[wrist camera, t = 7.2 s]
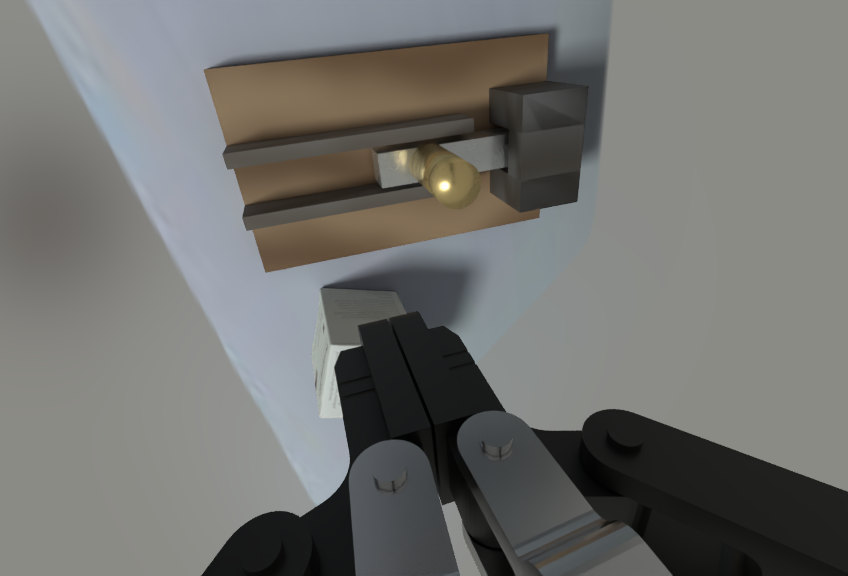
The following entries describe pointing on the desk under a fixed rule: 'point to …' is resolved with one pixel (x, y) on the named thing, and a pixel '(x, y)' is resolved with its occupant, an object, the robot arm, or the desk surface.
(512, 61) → the plate
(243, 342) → the desk surface
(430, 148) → the slide latch
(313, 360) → the skincare box
